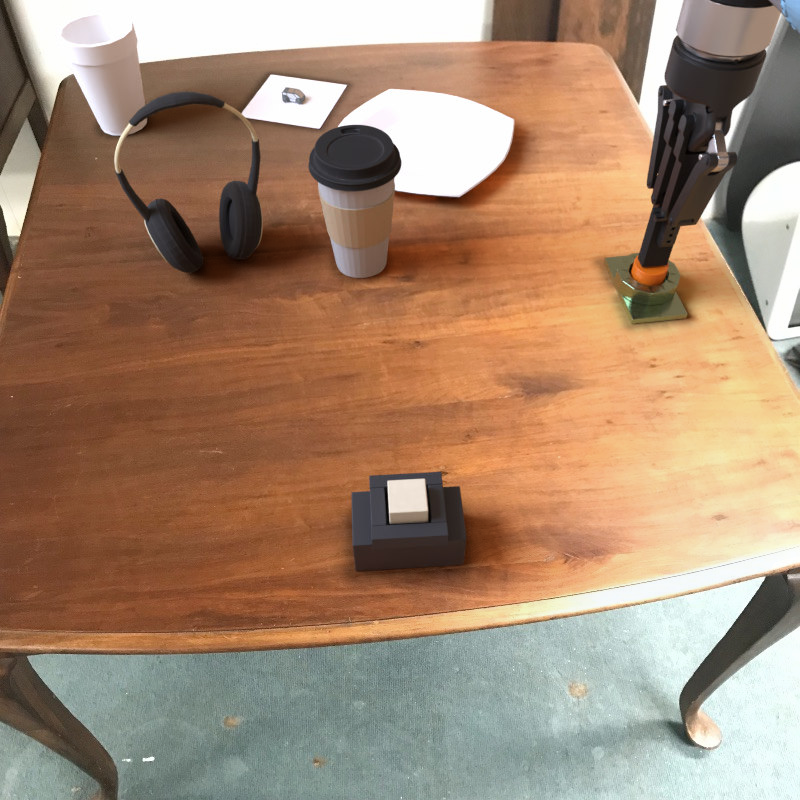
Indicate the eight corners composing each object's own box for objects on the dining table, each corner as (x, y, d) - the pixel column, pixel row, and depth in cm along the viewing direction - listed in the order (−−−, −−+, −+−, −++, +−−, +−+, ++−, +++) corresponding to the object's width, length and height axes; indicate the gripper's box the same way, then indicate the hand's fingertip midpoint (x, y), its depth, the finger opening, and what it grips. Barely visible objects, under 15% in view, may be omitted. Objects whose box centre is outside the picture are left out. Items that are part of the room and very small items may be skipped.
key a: (425, 490, 62) (425, 478, 61) (427, 522, 61) (428, 510, 59) (387, 492, 62) (387, 480, 61) (389, 524, 60) (389, 513, 59)
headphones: (286, 263, 88) (260, 100, 73) (157, 298, 85) (101, 135, 70) (266, 220, 94) (237, 59, 78) (143, 251, 90) (88, 89, 75)
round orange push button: (668, 287, 83) (673, 273, 81) (636, 290, 83) (640, 276, 81) (657, 265, 85) (662, 250, 84) (625, 268, 85) (629, 254, 83)
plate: (533, 127, 106) (535, 114, 104) (467, 224, 93) (468, 210, 91) (383, 90, 112) (382, 77, 111) (301, 175, 99) (300, 162, 98)
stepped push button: (456, 508, 68) (460, 470, 63) (464, 570, 64) (468, 534, 59) (354, 514, 67) (350, 476, 63) (355, 576, 64) (351, 540, 59)
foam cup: (92, 108, 110) (60, 15, 100) (159, 102, 111) (133, 9, 101) (87, 145, 104) (52, 50, 94) (156, 138, 105) (130, 43, 95)
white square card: (319, 128, 106) (318, 118, 105) (238, 116, 108) (236, 106, 107) (347, 85, 113) (346, 75, 112) (271, 74, 116) (269, 64, 114)
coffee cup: (370, 225, 93) (364, 110, 81) (419, 266, 88) (420, 150, 76) (304, 257, 89) (288, 141, 77) (351, 302, 84) (342, 186, 73)
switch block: (688, 318, 82) (695, 301, 80) (629, 324, 82) (634, 307, 80) (656, 257, 89) (662, 239, 87) (601, 262, 88) (605, 245, 86)
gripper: (800, 77, 60) (709, 300, 78) (733, 2, 68) (665, 220, 86) (707, 84, 59) (637, 307, 78) (651, 8, 68) (599, 226, 86)
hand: (652, 261), depth 82 cm, fingers closed
